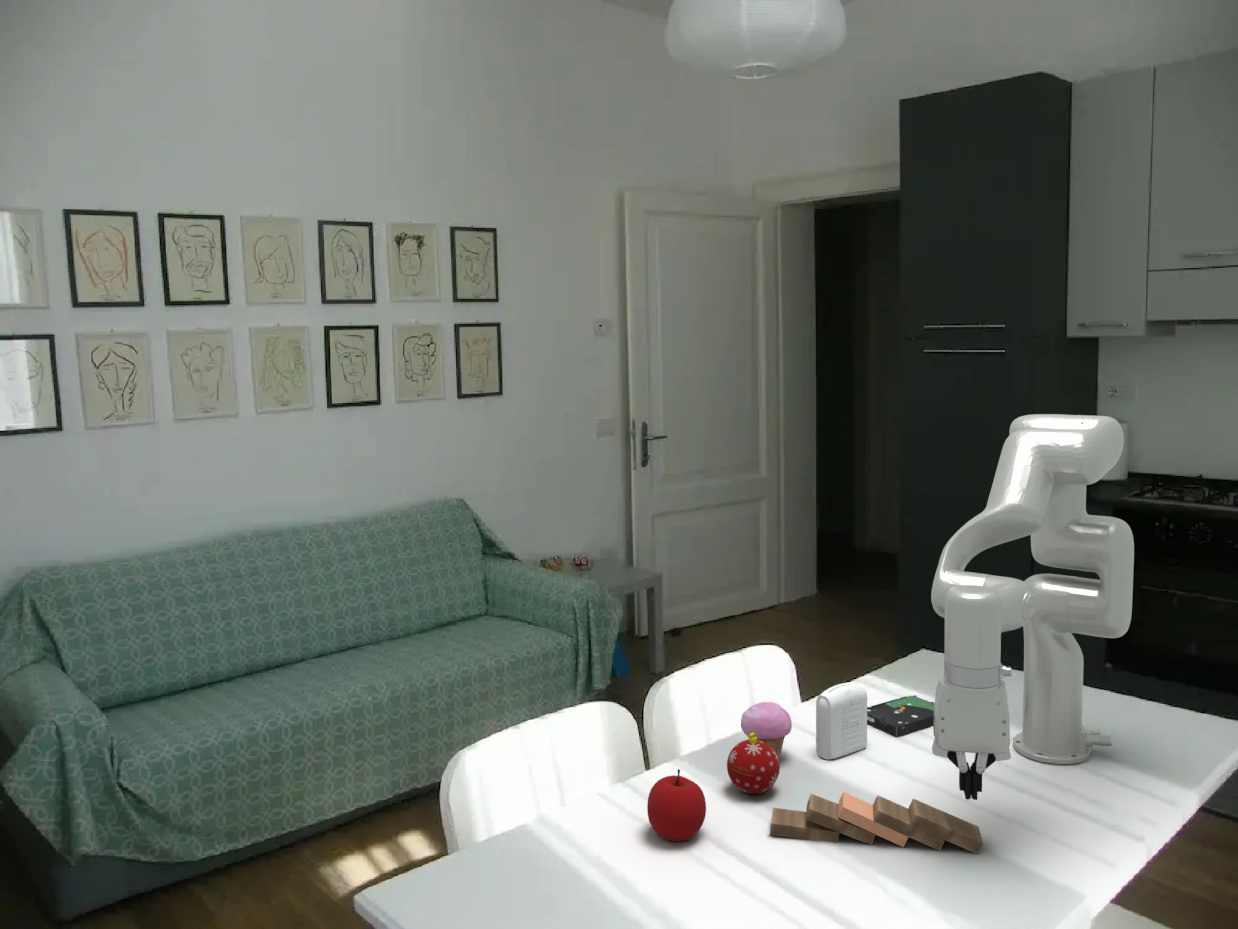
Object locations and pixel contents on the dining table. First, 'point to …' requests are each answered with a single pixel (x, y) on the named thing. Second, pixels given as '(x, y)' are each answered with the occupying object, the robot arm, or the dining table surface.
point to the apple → (676, 808)
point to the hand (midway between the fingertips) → (970, 795)
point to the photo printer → (841, 720)
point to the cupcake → (767, 724)
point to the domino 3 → (866, 818)
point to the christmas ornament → (753, 765)
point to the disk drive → (901, 715)
